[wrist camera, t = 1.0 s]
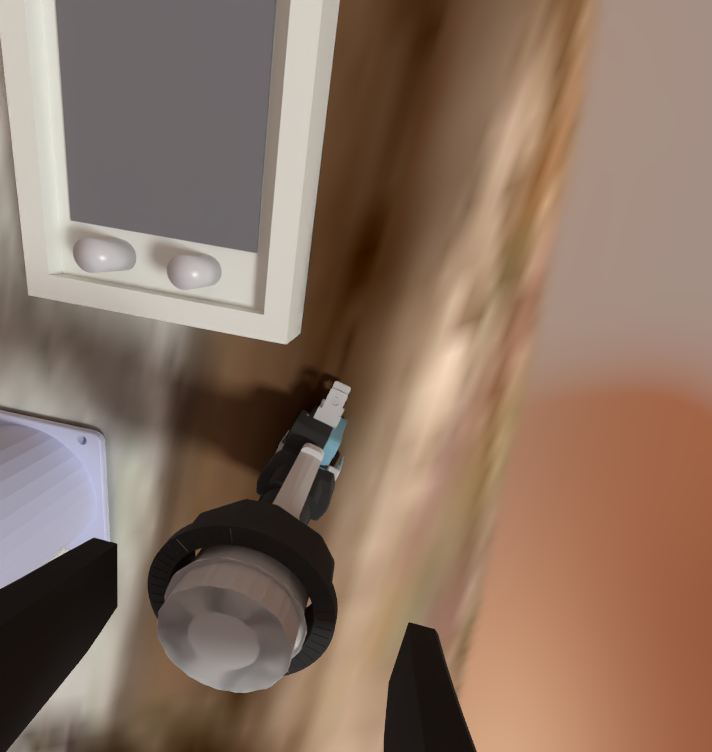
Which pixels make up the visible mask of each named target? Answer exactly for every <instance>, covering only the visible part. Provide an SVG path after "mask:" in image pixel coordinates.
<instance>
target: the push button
mask: <svg viewBox="0 0 712 752" xmlns="http://www.w3.org/2000/svg"><path fill="white" fill-rule="evenodd" d="M338 389H340V390H342V391H343V392H342V391H340V390H338ZM350 390H351V388H350V387H349V386H347V385H345V384H343V383H341V382H339V381H335V382H334V385H333V387H332V388H331V390H330V392H329V394H328V396H327V398H326V400H325V399H323V400H322V402H321V404H320V406H319V407H318V406H316V405H315V407H314V408H313V410H312V412H311V413H309V412H307V411H304V410H302V412H301V413H300V415H299V416H298V418H297V419H296V421H295V422H294V424H293V426H292V428H291V430H288V431H287V433H286V434H285V436H284V437H283V439H282V441H281V442H280V444H279V446H278V449H277V451H276V453H275V454H274V455H273V456H272V457H271V459H270V460H269V461H268V463H267V464H266V466H265V467H264V469H263V471H262V472H261V474H260V476H259V478H258V481H257V493H258V494H259V495H261V496H260V499H259V501H254V500H249V499H246V500H241V501H238V502H235V503H232V504H228V505H225V506H222V507H219V508H216V509H212V510H209V511H206V512H203V513H201V514H200V515H199V516H198V517H197V518H196V519H195V521H194V522H193V523H192V524H189V525H188V526H186V527H184V528H182V529H181V530H179V531H178V532H176V533H175V534H174V535H173V536H172V537H171V538H170V539H169V540H168V541H167V542H166V543H165V545H164V546H163V547H162V548H161V549H160V551H159V552H158V553H157V555H156V556H155V558H154V560H153V562H152V564H151V567H150V571H149V575H148V593H149V599H150V602H151V606H152V608H153V611H154V613H155V615H156V617H157V619H158V624H157V636H158V639H159V641H160V642H161V644H162V646H163V648H164V650H165V652H166V654H167V656H168V658H169V659H171V660H172V662H173V663H174V664H175V665H176V666H177V667H179V668H180V669H182V670H183V671H184V672H185V673H186V674H187V675H188V676H189V677H191V678H193V679H196V680H198V681H199V682H200V683H202V684H205V685H208V686H211V687H213V688H215V689H219V690H227V691H231V692H235V693H238V692H242V693H247V692H251V691H255V690H260V689H267V688H268V687H271V686H272V685H273V684H274V683H276V682H277V681H278V680H279V679H280V678H281V677H282V676H285V675H289V674H292V673H295V672H298V671H300V670H302V669H304V668H306V667H308V666H310V665H311V664H312V663H314V662H315V661H316V660H317V659H318V658H319V657H320V656H321V655H322V654H323V653H324V652H325V650H326V649H327V647H328V646H329V644H330V642H331V639H332V637H333V633H334V629H335V624H336V619H337V598H336V593H335V589H334V586H333V584H332V580H333V572H334V559H333V557H332V555H331V553H330V552H329V550H328V548H327V546H326V544H325V542H324V540H323V538H322V537H321V535H320V534H318V533H317V532H315V531H314V530H313V529H311V528H310V527H308V526H307V524H308V522H309V520H310V519H311V520H315V521H316V520H318V519H319V518H320V517H321V516H322V515H323V514H324V513H325V512H326V510H327V508H328V506H329V504H330V500H331V497H332V494H333V491H334V486H335V480H336V478H337V476H338V474H339V473H340V471H341V470H340V469H341V467H342V464H343V461H344V458H345V457H344V456H343V457H342V459H341V461H340V463H339V465H338V466H337V468H334V467H332V466H329V464H330V462H331V460H332V458H334V456H335V454H336V452H337V450H338V448H339V446H340V443H341V441H342V435H343V432H344V430H345V427H346V424H347V421H348V420H345V419H343V418H341V415H342V413H343V411H344V408H342V407H343V405H344V403H345V401H346V399H347V397H348V394H349V392H350ZM289 432H290V433H289ZM288 434H289V435H288ZM287 436H288V437H287ZM284 443H285V444H284ZM199 548H202V549H201V550H200V552H199V553H198V555H197V556H196V557H195V550H197V549H199ZM309 597H310V599H311V602H312V604H311V605H310V606H308V607H307V608H306V605H307V602H308V598H309Z"/></svg>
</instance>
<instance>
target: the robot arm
mask: <svg viewBox="0 0 712 752" xmlns="http://www.w3.org/2000/svg"><path fill="white" fill-rule="evenodd" d="M83 436H84V437H85V438H86V440H85V439H84V437H83ZM63 549H68V550H70V551H68V552H66V553H65V554H63V555H61V556H59V557H57V558H56V559H54V560H52V561H50V560H51V559H52V558H53V557H55V556H56V555H57V554H58V553H59V552H60V551H62V550H63ZM49 561H50V562H49ZM116 608H117V544H116V543H113V542H110V525H109V506H108V487H107V468H106V448H105V438H104V436H103V435H102V434H101V433H100V432H98V431H96V430H91V429H87V428H82V427H77V426H73V425H68V424H63V423H59V422H54V421H49V420H45V419H40V418H35V417H31V416H26V415H21V414H17V413H12V412H7V411H3V410H0V752H6V751H7V750H8V749H9V747H10V746H11V745H12V744H13V742H14V741H15V740H16V739H17V738H18V736H19V735H20V734H21V733H22V731H23V730H24V729H25V728H26V727H27V725H28V724H29V723H30V722H31V720H32V719H33V718H34V717H35V716H36V714H37V713H38V712H39V711H40V709H41V708H42V707H43V706H44V705H45V703H46V702H47V701H48V700H49V698H50V697H51V696H52V695H53V694H54V692H55V691H56V690H57V689H58V687H59V686H60V685H61V684H62V682H63V681H64V680H65V679H66V678H67V676H68V675H69V674H70V673H71V671H72V670H73V669H74V668H75V666H76V665H77V664H78V663H79V661H80V660H81V659H82V658H83V656H84V655H85V654H86V653H87V651H88V650H89V648H90V647H91V645H92V644H93V642H94V641H95V639H96V638H97V637H98V635H99V634H100V632H101V631H102V629H103V628H104V626H105V625H106V623H107V621H108V620H109V618H110V617H111V615H112V614H113V612H114V611H115V609H116ZM384 752H477V751H476V749H475V746H474V743H473V740H472V738H471V735H470V732H469V730H468V727H467V724H466V722H465V719H464V716H463V713H462V710H461V707H460V704H459V701H458V698H457V695H456V692H455V689H454V686H453V683H452V680H451V677H450V674H449V671H448V667H447V664H446V661H445V657H444V654H443V650H442V647H441V643H440V640H439V636H438V633H437V632H436V630H435V629H432V628H428V627H425V626H421V625H417V624H413V623H410V622H409V623H408V626H407V629H406V632H405V635H404V638H403V641H402V644H401V647H400V650H399V653H398V656H397V659H396V662H395V665H394V668H393V671H392V674H391V677H390V680H389V687H388V698H387V708H386V720H385V731H384Z"/></svg>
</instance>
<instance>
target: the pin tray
mask: <svg viewBox="0 0 712 752" xmlns="http://www.w3.org/2000/svg"><path fill="white" fill-rule="evenodd" d="M339 3H340V0H0V38H1V47H2V57H3V66H4V75H5V84H6V93H7V103H8V112H9V121H10V130H11V140H12V149H13V158H14V167H15V177H16V186H17V195H18V204H19V213H20V223H21V232H22V241H23V250H24V260H25V269H26V278H27V287H28V295H30V296H35V297H40V298H46V299H51V300H56V301H61V302H67V303H72V304H77V305H82V306H88V307H93V308H98V309H103V310H108V311H114V312H119V313H124V314H129V315H135V316H140V317H145V318H150V319H156V320H161V321H166V322H171V323H176V324H182V325H187V326H192V327H197V328H203V329H208V330H213V331H218V332H224V333H229V334H234V335H239V336H245V337H250V338H255V339H260V340H265V341H271V342H276V343H281V344H287V343H289V342H290V341H291V340H293V339H294V338H295V337H296V336H298V335H299V334H300V333H301V325H302V317H303V308H304V300H305V291H306V283H307V274H308V266H309V257H310V249H311V240H312V232H313V223H314V215H315V206H316V198H317V189H318V181H319V172H320V164H321V155H322V147H323V138H324V130H325V121H326V113H327V104H328V96H329V87H330V79H331V70H332V62H333V53H334V45H335V36H336V28H337V20H338V11H339Z"/></svg>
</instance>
